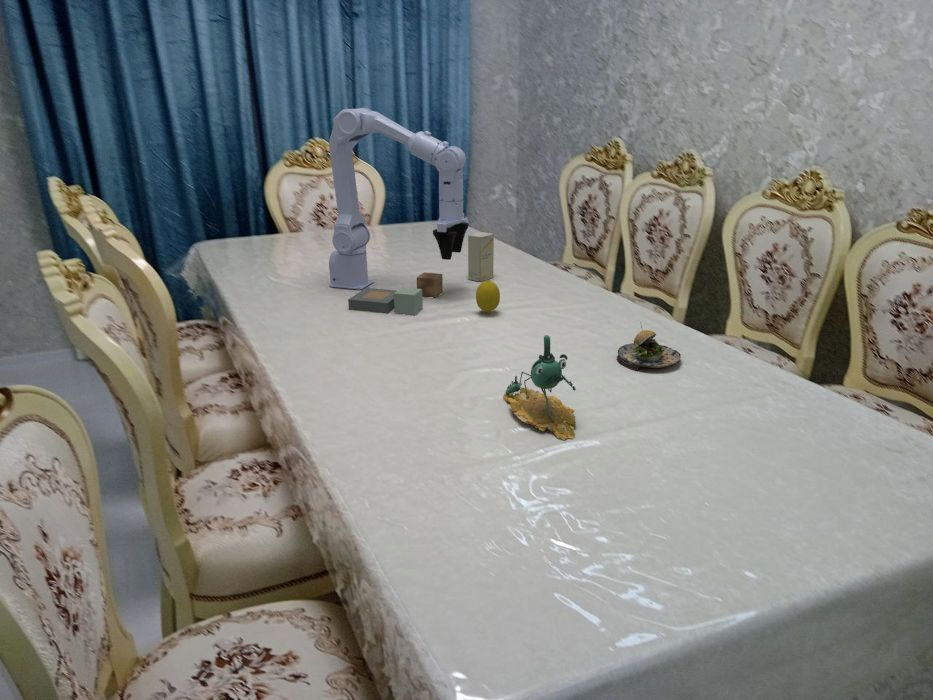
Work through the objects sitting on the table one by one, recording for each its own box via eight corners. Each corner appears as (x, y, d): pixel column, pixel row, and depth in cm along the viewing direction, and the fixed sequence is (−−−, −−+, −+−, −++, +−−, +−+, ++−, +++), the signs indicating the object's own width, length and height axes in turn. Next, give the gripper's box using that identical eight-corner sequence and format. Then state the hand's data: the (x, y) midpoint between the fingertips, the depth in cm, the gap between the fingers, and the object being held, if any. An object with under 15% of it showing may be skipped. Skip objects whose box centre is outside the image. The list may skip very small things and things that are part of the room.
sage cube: (394, 314, 153) (393, 293, 151) (403, 307, 157) (402, 287, 155) (414, 316, 151) (414, 295, 150) (422, 309, 156) (422, 289, 154)
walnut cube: (417, 296, 165) (416, 277, 163) (424, 291, 170) (423, 272, 168) (435, 298, 164) (435, 279, 162) (442, 292, 168) (442, 273, 166)
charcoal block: (348, 311, 156) (348, 299, 155) (367, 299, 165) (366, 287, 164) (388, 315, 153) (387, 303, 152) (404, 302, 162) (404, 291, 161)
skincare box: (480, 282, 177) (480, 237, 172) (467, 279, 179) (467, 235, 175) (494, 277, 181) (494, 233, 177) (481, 274, 184) (481, 231, 179)
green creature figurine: (540, 388, 115) (550, 310, 109) (595, 446, 101) (610, 360, 94) (490, 396, 112) (496, 317, 105) (539, 458, 97) (551, 370, 90)
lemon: (471, 315, 152) (471, 281, 149) (482, 308, 156) (482, 275, 153) (493, 318, 149) (493, 284, 146) (503, 311, 154) (504, 278, 151)
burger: (635, 377, 120) (638, 338, 117) (605, 354, 130) (608, 318, 128) (693, 370, 123) (698, 332, 120) (659, 348, 133) (663, 312, 130)
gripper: (457, 205, 150) (457, 263, 156) (475, 196, 163) (475, 250, 168) (428, 203, 152) (429, 261, 158) (448, 194, 165) (449, 248, 170)
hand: (451, 255), depth 163 cm, fingers open, 7 cm apart
